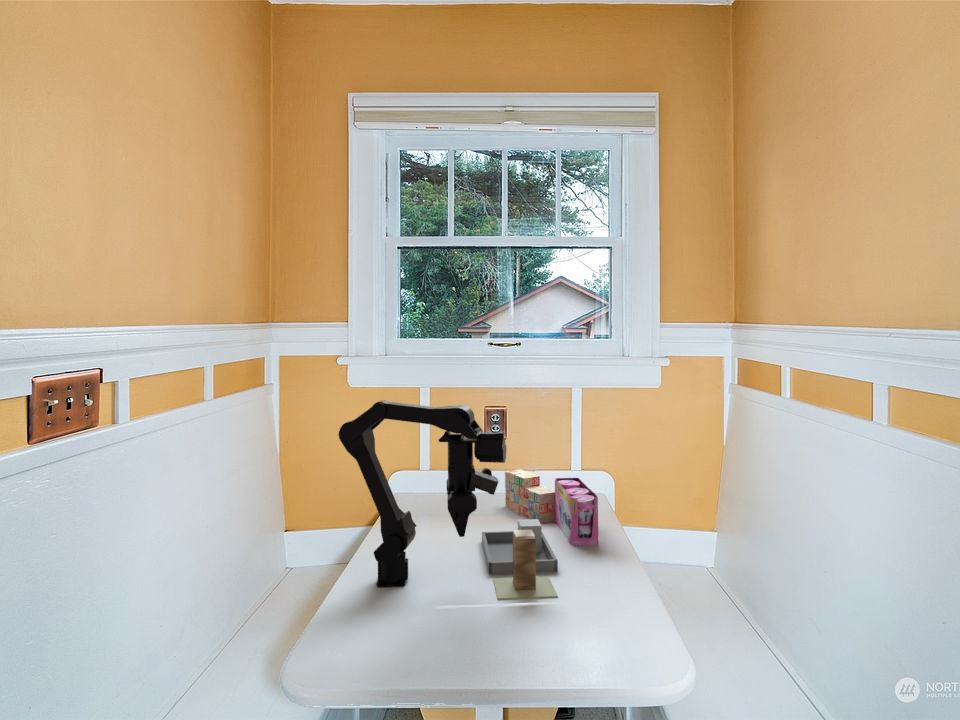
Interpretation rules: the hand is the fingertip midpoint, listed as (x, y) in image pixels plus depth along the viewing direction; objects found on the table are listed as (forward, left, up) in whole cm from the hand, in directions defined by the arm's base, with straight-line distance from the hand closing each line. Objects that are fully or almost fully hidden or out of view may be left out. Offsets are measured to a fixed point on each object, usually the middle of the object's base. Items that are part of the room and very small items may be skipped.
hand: (460, 529), depth 126 cm
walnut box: (+14, -3, -12) cm, 19 cm away
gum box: (+34, +33, -13) cm, 49 cm away
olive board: (+14, -4, -13) cm, 19 cm away
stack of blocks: (+24, +52, -13) cm, 59 cm away
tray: (+15, +15, -13) cm, 25 cm away
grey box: (+19, +20, -12) cm, 30 cm away
